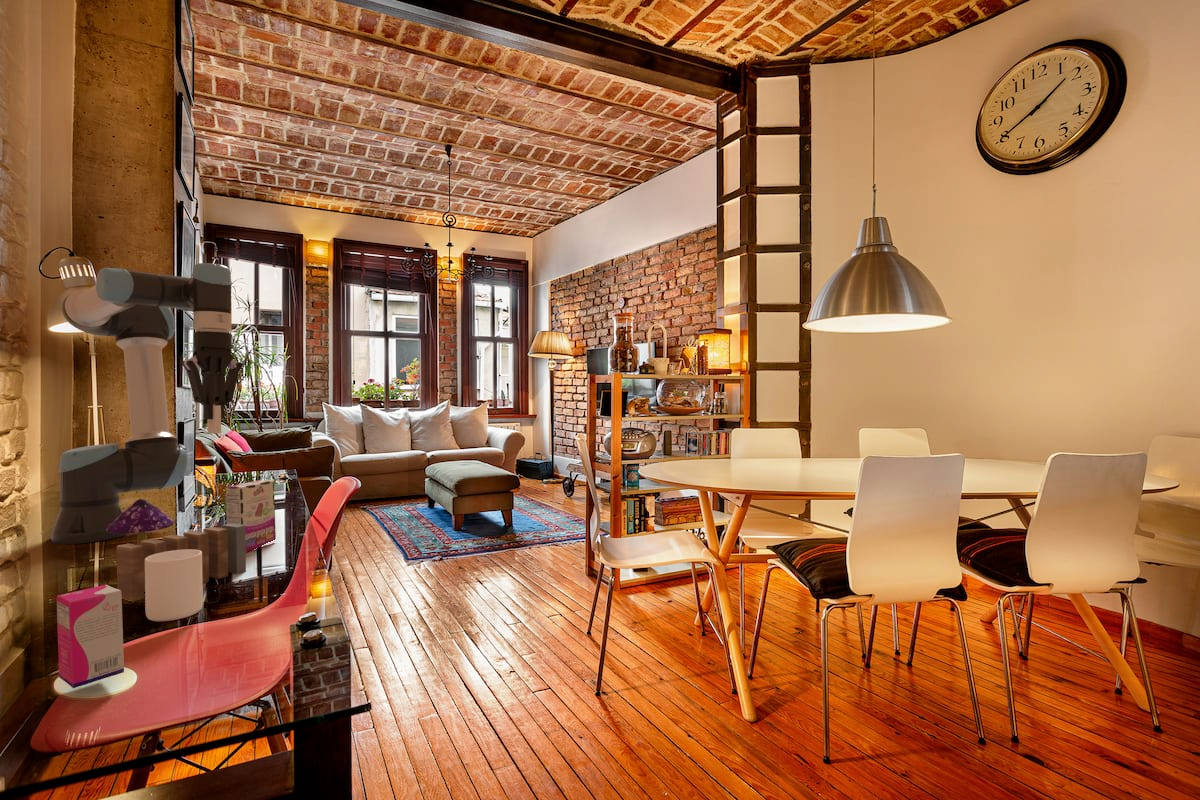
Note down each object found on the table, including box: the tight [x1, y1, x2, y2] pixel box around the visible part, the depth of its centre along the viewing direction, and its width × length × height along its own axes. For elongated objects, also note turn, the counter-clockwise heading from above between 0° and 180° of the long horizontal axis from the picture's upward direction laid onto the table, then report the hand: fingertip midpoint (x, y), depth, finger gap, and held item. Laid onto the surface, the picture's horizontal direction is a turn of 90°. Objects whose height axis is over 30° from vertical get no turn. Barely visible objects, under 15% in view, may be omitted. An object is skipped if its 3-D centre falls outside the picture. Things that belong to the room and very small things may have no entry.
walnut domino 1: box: [116, 542, 145, 601], centre depth 116 cm, size 2×5×10 cm, turn 63°
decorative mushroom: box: [106, 498, 176, 545], centre depth 140 cm, size 12×12×15 cm
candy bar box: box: [224, 479, 277, 554], centre depth 153 cm, size 11×5×16 cm, turn 168°
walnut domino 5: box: [202, 526, 229, 580], centre depth 131 cm, size 2×5×10 cm, turn 63°
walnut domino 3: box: [162, 534, 188, 552], centre depth 123 cm, size 2×5×10 cm, turn 63°
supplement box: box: [56, 584, 125, 689], centre depth 84 cm, size 6×6×12 cm
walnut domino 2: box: [140, 538, 166, 592], centre depth 120 cm, size 2×5×10 cm, turn 63°
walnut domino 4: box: [183, 530, 210, 584], centre depth 127 cm, size 2×5×10 cm, turn 63°
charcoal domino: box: [221, 523, 247, 575], centre depth 134 cm, size 2×5×10 cm, turn 64°
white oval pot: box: [144, 549, 204, 622], centre depth 110 cm, size 12×8×10 cm
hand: (214, 433), depth 143 cm, fingers closed
